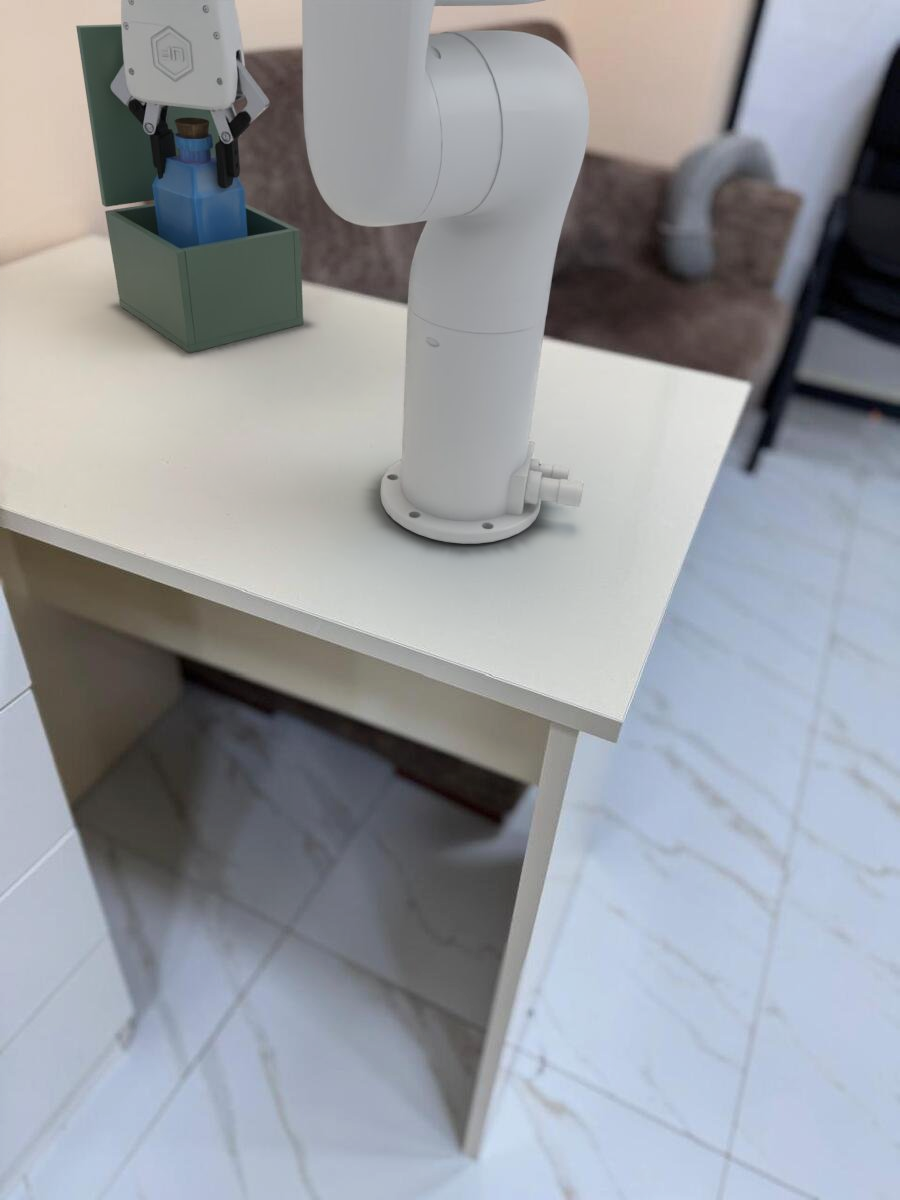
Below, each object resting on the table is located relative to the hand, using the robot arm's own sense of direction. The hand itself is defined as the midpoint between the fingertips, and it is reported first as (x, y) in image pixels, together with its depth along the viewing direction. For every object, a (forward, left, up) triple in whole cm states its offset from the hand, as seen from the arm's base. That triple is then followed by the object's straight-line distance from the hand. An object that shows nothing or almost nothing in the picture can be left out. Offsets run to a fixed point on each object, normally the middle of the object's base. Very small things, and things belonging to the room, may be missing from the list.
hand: (198, 178), depth 89 cm
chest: (0, 0, -14) cm, 14 cm away
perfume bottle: (0, 0, -7) cm, 7 cm away
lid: (+5, -4, +4) cm, 8 cm away
